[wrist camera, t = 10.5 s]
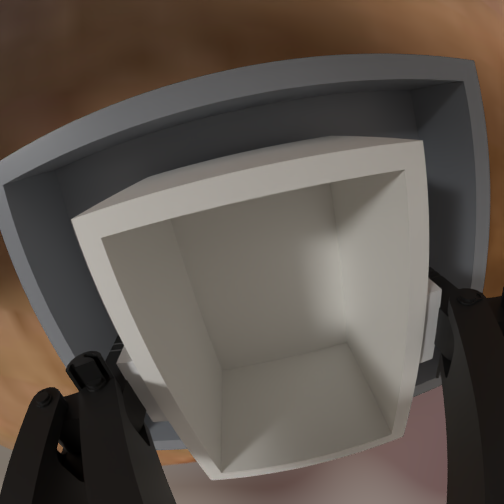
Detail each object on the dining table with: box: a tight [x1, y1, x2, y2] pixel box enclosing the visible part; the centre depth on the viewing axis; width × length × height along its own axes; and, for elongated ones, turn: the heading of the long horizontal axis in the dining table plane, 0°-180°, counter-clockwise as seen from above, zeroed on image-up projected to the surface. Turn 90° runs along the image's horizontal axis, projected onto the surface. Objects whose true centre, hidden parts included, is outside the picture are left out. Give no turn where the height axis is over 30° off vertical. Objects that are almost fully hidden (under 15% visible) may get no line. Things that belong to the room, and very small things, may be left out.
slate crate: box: [0, 54, 490, 450], centre depth 14 cm, size 17×21×6 cm
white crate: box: [71, 136, 429, 480], centre depth 11 cm, size 11×8×7 cm
